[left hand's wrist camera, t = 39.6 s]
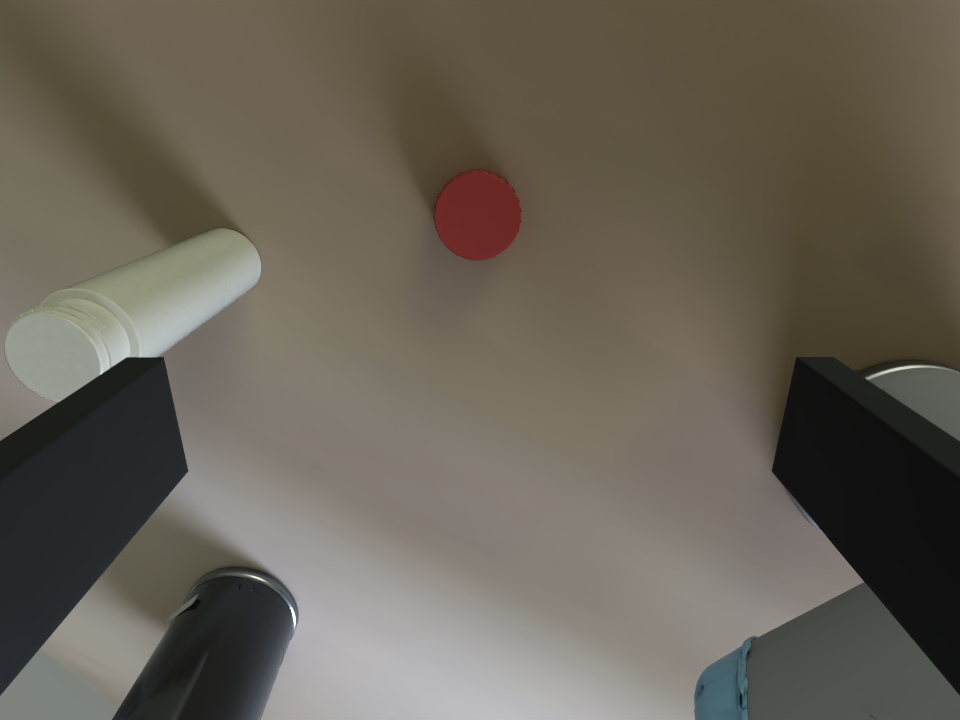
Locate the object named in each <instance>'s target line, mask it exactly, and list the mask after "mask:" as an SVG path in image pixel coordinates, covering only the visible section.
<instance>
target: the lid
mask: <svg viewBox="0 0 960 720" xmlns="http://www.w3.org/2000/svg"><path fill="white" fill-rule="evenodd" d="M514 193H515V191H514V189H513V188H511V187H510V186H509V184H508V181H507V180H506V181H505V180H504V179H502V178H501V177H500V175H499V174H498V175H496V174H494V173H492V172H491V171H490V170H489V171H484V170H481V169H479V170H471V169H470V170H469V171H467V172H464V173H461V172H460V173H459V175H457V176H456V177H454V178H453V177H452V178H451V180H450V182H449V183H448V184H447V185H446V184H445V185H444V187H443V191H442V192H441V193H440V194H439V195H438V201H437V203H436V205H435V215H434V218H435V228H436V230H437V232H438V235H439V237H440V239H441V240H442V242H443V243H444V245H445V246H446V247H447V248H448V249H449V250H450V251H452V252H453V253H454V254H456V255H458V256H460V257H462V258H465V259H469V260H486V259H490V258H493V257H495V256H497V255H499V254H501V253H502V252H504V251H505V250H506V249H507V248H508V247H509V246H510V245H511V244H512V242H513V241H514V239H515V237H516V235H517V233H518V232H519V227H520V222H521V213H520V212H521V209H520V207H519V203H518V202H519V200H518V198H517V197H516V196H515V194H514Z"/></svg>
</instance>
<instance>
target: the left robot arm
mask: <svg viewBox="0 0 960 720" xmlns="http://www.w3.org/2000/svg"><path fill="white" fill-rule="evenodd" d="M187 472H188V468H187V463H186V459H185V454H184V449H183V445H182V440H181V436H180V431H179V426H178V422H177V417H176V412H175V408H174V403H173V398H172V394H171V389H170V384H169V380H168V375H167V371H166V366H165V361H164V357H126V358H125V359H123V360H122V361H120V362H119V363H117V364H116V365H114V366H113V367H111V368H110V369H108V370H107V371H105V372H104V373H102V374H101V375H99V376H98V377H96V378H95V379H93V380H92V381H90V382H89V383H87V384H86V385H84V386H83V387H81V388H80V389H78V390H77V391H75V392H74V393H72V394H71V395H69V396H68V397H66V398H65V399H63V400H62V401H60V402H59V403H57V404H55V405H54V406H52V407H51V408H49V409H48V410H46V411H45V412H43V413H42V414H40V415H39V416H37V417H36V418H34V419H33V420H31V421H30V422H28V423H27V424H25V425H24V426H22V427H21V428H19V429H18V430H16V431H15V432H13V433H12V434H10V435H9V436H7V437H6V438H4V439H3V440H1V441H0V695H1V694H2V693H3V692H4V690H5V689H6V688H7V687H8V686H9V685H10V683H11V682H12V681H13V680H14V679H15V677H16V676H17V675H18V674H19V673H20V671H21V670H22V669H23V668H24V667H25V665H26V664H27V663H28V662H29V661H30V659H31V658H32V657H33V656H34V655H35V653H36V652H37V651H38V650H39V649H40V648H41V646H42V645H43V644H44V643H45V642H46V640H47V639H48V638H49V637H50V636H51V634H52V633H53V632H54V631H55V630H56V628H57V627H58V626H59V625H60V624H61V622H62V621H63V620H64V619H65V618H66V616H67V615H68V614H69V613H70V612H71V611H72V609H73V608H74V607H75V606H76V605H77V603H78V602H79V601H80V600H81V599H82V597H83V596H84V595H85V594H86V593H87V591H88V590H89V589H90V588H91V587H92V585H93V584H94V583H95V582H96V581H97V579H98V578H99V577H100V576H101V575H102V573H103V572H104V571H105V570H106V569H107V568H108V566H109V565H110V564H111V563H112V562H113V560H114V559H115V558H116V557H117V556H118V554H119V553H120V552H121V551H122V550H123V548H124V547H125V546H126V545H127V544H128V542H129V541H130V540H131V539H132V538H133V536H134V535H135V534H136V533H137V532H138V531H139V529H140V528H141V527H142V526H143V525H144V523H145V522H146V521H147V520H148V519H149V517H150V516H151V515H152V514H153V513H154V511H155V510H156V509H157V508H158V507H159V505H160V504H161V503H162V502H163V501H164V499H165V498H166V497H167V496H168V495H169V493H170V492H171V491H172V490H173V489H174V488H175V486H176V485H177V484H178V483H179V482H180V480H181V479H182V478H183V477H184V476H185V474H186V473H187ZM772 472H773V473H774V474H775V476H776V477H777V478H778V479H779V480H780V482H781V483H782V484H783V485H784V486H785V488H786V489H787V491H788V494H789V496H790V498H791V500H792V502H793V503H794V505H795V506H796V507H797V509H798V510H799V511H800V512H801V513H802V515H803V516H804V517H805V518H806V519H807V521H808V522H809V523H811V524H812V525H813V526H814V527H815V528H816V529H817V530H819V531H820V532H821V533H822V534H823V535H825V536H826V537H827V538H828V539H829V540H830V541H831V542H832V544H833V545H834V546H835V547H836V548H837V550H838V551H839V552H840V553H841V554H842V556H843V557H844V558H845V559H846V560H847V562H848V563H849V564H850V565H851V566H852V568H853V569H854V570H855V571H856V572H857V573H858V575H859V576H860V577H861V578H862V579H863V581H864V583H862V584H860V585H858V586H856V587H854V588H852V589H850V590H848V591H847V592H845V593H843V594H841V595H839V596H837V597H835V598H833V599H831V600H829V601H827V602H825V603H823V604H822V605H820V606H818V607H816V608H814V609H812V610H810V611H808V612H806V613H804V614H802V615H800V616H798V617H797V618H795V619H793V620H791V621H789V622H787V623H785V624H783V625H781V626H779V627H777V628H775V629H774V630H772V631H770V632H768V633H766V634H764V635H762V636H760V637H756V636H753V637H750V638H748V639H747V640H745V641H744V643H743V645H742V646H741V647H739V648H738V649H736V650H735V651H733V652H731V653H730V654H728V655H726V656H725V657H723V658H721V659H720V660H718V661H716V662H715V663H713V664H712V665H710V666H708V667H707V668H706V669H705V670H704V671H703V673H702V674H701V676H700V677H699V679H698V682H697V685H696V689H695V694H694V701H695V710H694V712H695V720H960V372H959V371H957V370H955V369H953V368H951V367H948V366H946V365H943V364H939V363H935V362H930V361H923V360H903V361H895V362H889V363H884V364H880V365H877V366H873V367H870V368H867V369H865V370H862V371H860V372H858V373H856V372H855V371H853V370H852V369H850V368H849V367H847V366H846V365H844V364H843V363H841V362H840V361H838V360H837V359H835V358H834V357H796V361H795V366H794V371H793V375H792V380H791V384H790V389H789V394H788V398H787V403H786V408H785V412H784V417H783V422H782V426H781V431H780V436H779V440H778V445H777V449H776V454H775V459H774V463H773V468H772Z"/></svg>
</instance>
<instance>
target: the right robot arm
mask: <svg viewBox="0 0 960 720" xmlns="http://www.w3.org/2000/svg"><path fill="white" fill-rule="evenodd" d="M175 616H176V617H175ZM174 617H175V619H174V620H173V621H172V623H171V625H170V626H169V628H168V630H167V631H166V633H165V634H164V636H163V638H162V639H161V641H160V643H159V644H158V646H157V647H156V649H155V651H154V652H153V654H152V656H151V657H150V659H149V660H148V662H147V664H146V665H145V667H144V669H143V670H142V672H141V673H140V675H139V677H138V678H137V680H136V681H135V683H134V685H133V686H132V688H131V690H130V691H129V693H128V694H127V696H126V698H125V699H124V701H123V703H122V704H121V706H120V707H119V709H118V711H117V712H116V714H115V716H114V717H113V719H112V720H261V717H262V715H263V712H264V709H265V706H266V704H267V701H268V698H269V696H270V693H271V690H272V687H273V685H274V682H275V679H276V677H277V674H278V671H279V668H280V666H281V663H282V661H283V658H284V655H285V653H286V650H287V647H288V644H289V642H290V640H291V639H292V637H293V634H294V632H295V629H296V626H297V623H298V608H297V604H296V602H295V600H294V598H293V596H292V594H291V593H290V592H289V591H288V589H287V588H286V587H285V586H284V585H283V584H281V583H280V582H279V581H278V580H276V579H275V578H273V577H271V576H269V575H267V574H265V573H263V572H260V571H257V570H253V569H249V568H242V567H228V568H222V569H218V570H214V571H212V572H209V573H207V574H206V575H204V576H203V577H201V578H200V579H199V580H198V581H197V582H196V583H195V584H194V586H193V587H192V589H191V590H190V592H189V593H188V595H187V597H186V599H185V602H184V604H183V605H182V606H181V607H180V608H178V609H177V610H176V611H174V612H173V613H171V615H170V616H169V618H168V619H167V621H166V623H167V622H169V621H170V620H171V619H173V618H174ZM166 623H165V624H166ZM165 624H164V625H165Z"/></svg>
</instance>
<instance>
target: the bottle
mask: <svg viewBox="0 0 960 720" xmlns="http://www.w3.org/2000/svg"><path fill="white" fill-rule="evenodd" d="M260 273H261V261H260V257H259V254H258V252H257V250H256V248H255V247H254V245H253V244H252V243H251V242H250V241H249V240H248V239H247V238H246V237H245V236H243V235H242V234H240V233H238V232H236V231H233V230H230V229H225V228H218V229H212V230H209V231H207V232H204V233H202V234H199V235H197V236H194V237H192V238H189V239H187V240H184V241H182V242H179V243H177V244H174V245H172V246H169V247H167V248H164V249H162V250H159V251H157V252H154V253H152V254H149V255H146V256H144V257H141V258H139V259H136V260H134V261H131V262H129V263H126V264H124V265H121V266H119V267H116V268H114V269H111V270H109V271H106V272H104V273H101V274H99V275H96V276H94V277H91V278H89V279H86V280H84V281H81V282H79V283H76V284H74V285H71V286H69V287H66V288H64V289H61V290H59V291H56V292H54V293H52V294H50V295H48V296H47V297H46V298H44V299H43V300H42V301H41V303H40V304H39V305H38V307H36V308H34V309H31V310H29V311H27V312H25V313H23V314H21V315H19V316H18V317H17V318H16V319H15V320H14V321H13V322H12V323H11V325H10V327H9V329H8V331H7V333H6V336H5V340H4V353H5V357H6V360H7V363H8V365H9V367H10V369H11V371H12V372H13V373H14V375H15V376H16V377H17V379H18V380H19V381H20V382H21V383H22V384H23V385H25V386H26V387H27V388H28V389H30V390H31V391H33V392H35V393H36V394H38V395H40V396H42V397H43V398H46V399H50V400H53V401H55V402H60V401H62V400H63V399H65V398H66V397H68V396H69V395H71V394H72V393H74V392H75V391H77V390H78V389H80V388H81V387H83V386H84V385H86V384H87V383H89V382H90V381H92V380H93V379H95V378H96V377H98V376H99V375H101V374H102V373H104V372H105V371H107V370H108V369H110V368H111V367H113V366H114V365H116V364H117V363H119V362H120V361H122V360H123V359H125V358H126V357H159V356H160V355H162V354H163V353H165V352H166V351H167V350H169V349H170V348H171V347H173V346H174V345H176V344H177V343H178V342H180V341H181V340H182V339H184V338H185V337H187V336H188V335H189V334H191V333H192V332H193V331H195V330H196V329H197V328H199V327H200V326H202V325H203V324H204V323H206V322H207V321H208V320H210V319H211V318H213V317H214V316H215V315H217V314H218V313H219V312H221V311H222V310H224V309H225V308H226V307H228V306H229V305H230V304H232V303H233V302H235V301H236V300H237V299H239V298H240V297H241V296H243V295H244V294H246V293H247V292H248V291H250V290H251V289H252V288H253V287H254V286H255V285H256V283H257V282H258V280H259V277H260Z"/></svg>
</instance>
